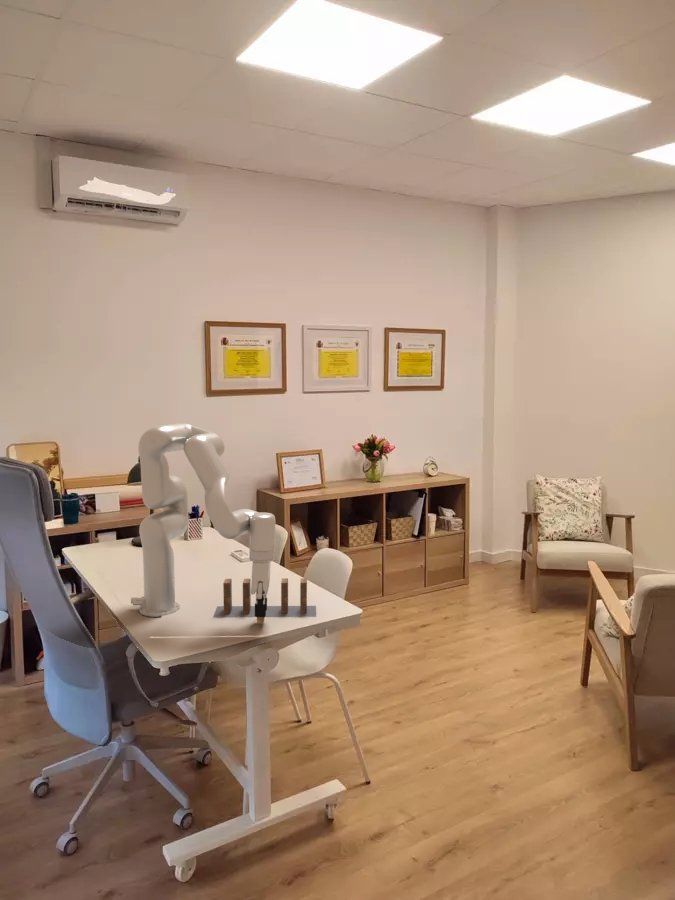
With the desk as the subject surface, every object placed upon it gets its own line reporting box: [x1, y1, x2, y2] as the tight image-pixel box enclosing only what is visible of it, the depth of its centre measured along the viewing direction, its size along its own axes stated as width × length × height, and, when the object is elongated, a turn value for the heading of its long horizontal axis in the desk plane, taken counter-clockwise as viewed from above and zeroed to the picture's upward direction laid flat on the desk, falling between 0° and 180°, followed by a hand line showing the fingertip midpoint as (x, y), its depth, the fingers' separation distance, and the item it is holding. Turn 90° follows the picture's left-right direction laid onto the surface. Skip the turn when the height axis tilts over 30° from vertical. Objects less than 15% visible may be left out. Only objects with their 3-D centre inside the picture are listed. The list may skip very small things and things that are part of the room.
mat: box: [212, 605, 317, 618], centre depth 219 cm, size 32×10×1 cm, turn 92°
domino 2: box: [242, 578, 252, 614], centre depth 218 cm, size 2×5×10 cm, turn 2°
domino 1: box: [222, 578, 233, 614], centre depth 218 cm, size 2×5×10 cm, turn 2°
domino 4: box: [280, 578, 289, 614], centre depth 219 cm, size 2×5×10 cm, turn 2°
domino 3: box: [256, 592, 266, 625], centre depth 207 cm, size 2×5×10 cm, turn 2°
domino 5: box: [299, 578, 308, 614], centre depth 219 cm, size 2×5×10 cm, turn 2°
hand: (260, 612), depth 207 cm, fingers closed on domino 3, 4 cm apart
